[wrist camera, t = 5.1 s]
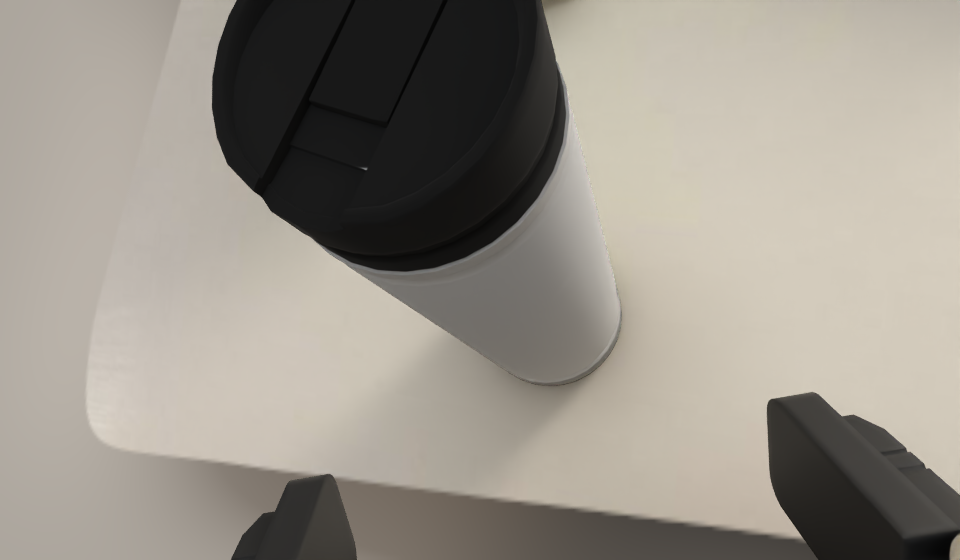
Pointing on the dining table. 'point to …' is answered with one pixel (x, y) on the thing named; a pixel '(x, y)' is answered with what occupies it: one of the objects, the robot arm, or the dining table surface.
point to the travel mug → (429, 165)
